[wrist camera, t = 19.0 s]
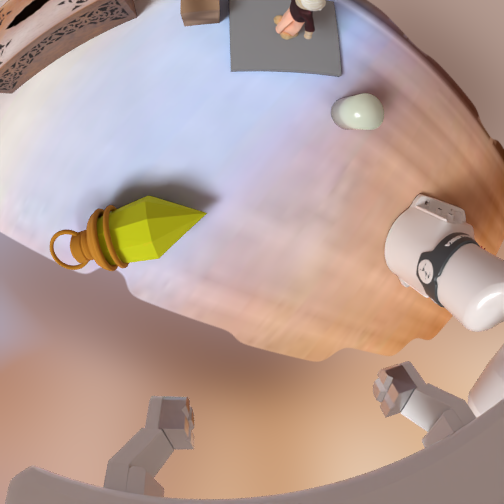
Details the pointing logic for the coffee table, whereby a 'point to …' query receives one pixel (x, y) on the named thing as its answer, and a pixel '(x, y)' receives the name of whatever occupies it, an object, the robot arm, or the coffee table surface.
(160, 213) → the plumb bob
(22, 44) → the tissue box cover
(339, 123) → the sage green capsule
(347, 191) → the coffee table surface
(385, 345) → the coffee table surface
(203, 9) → the walnut block
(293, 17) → the grandmother figurine
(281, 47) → the slate mat
